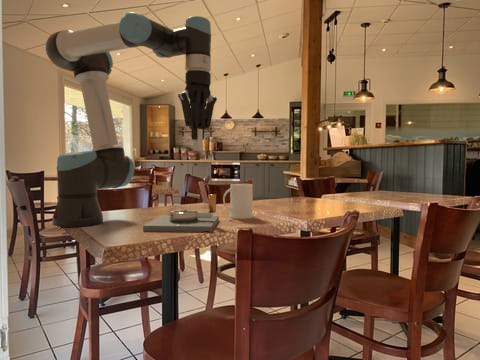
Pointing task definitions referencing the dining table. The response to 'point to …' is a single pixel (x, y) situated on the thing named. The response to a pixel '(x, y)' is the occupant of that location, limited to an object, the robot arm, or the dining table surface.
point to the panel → (181, 224)
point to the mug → (240, 201)
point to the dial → (194, 212)
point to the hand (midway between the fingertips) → (197, 150)
